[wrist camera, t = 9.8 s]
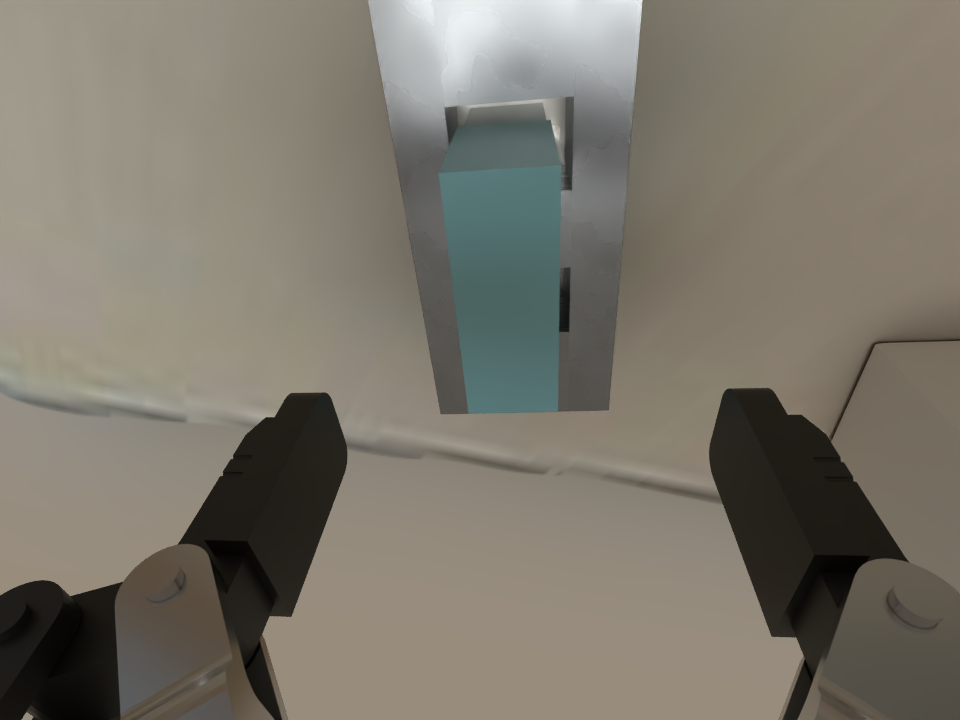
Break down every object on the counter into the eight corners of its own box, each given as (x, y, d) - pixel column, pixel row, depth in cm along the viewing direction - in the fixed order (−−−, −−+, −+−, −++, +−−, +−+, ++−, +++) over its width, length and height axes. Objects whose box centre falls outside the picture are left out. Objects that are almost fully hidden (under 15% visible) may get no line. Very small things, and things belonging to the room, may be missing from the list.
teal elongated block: (467, 102, 20) (438, 173, 13) (545, 96, 20) (561, 165, 12) (483, 286, 25) (468, 413, 17) (546, 283, 24) (558, 411, 17)
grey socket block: (386, -56, 18) (356, -63, 14) (625, -84, 17) (650, -98, 14) (449, 364, 28) (440, 414, 25) (598, 359, 27) (608, 410, 24)
